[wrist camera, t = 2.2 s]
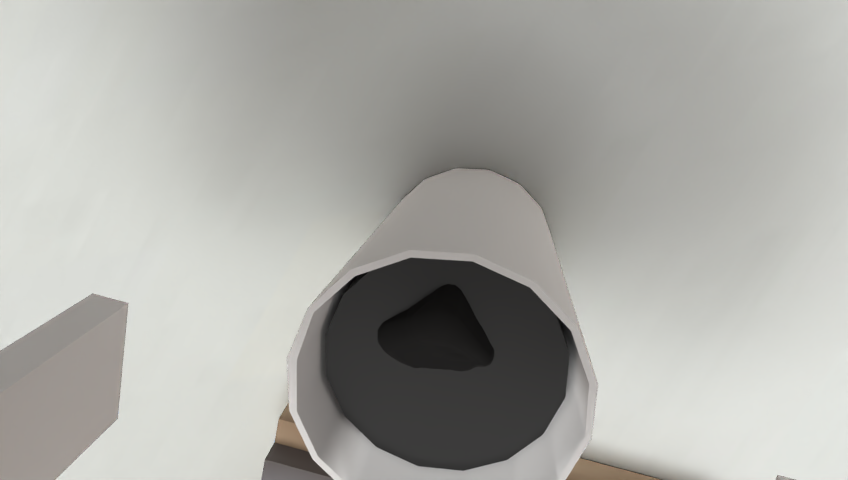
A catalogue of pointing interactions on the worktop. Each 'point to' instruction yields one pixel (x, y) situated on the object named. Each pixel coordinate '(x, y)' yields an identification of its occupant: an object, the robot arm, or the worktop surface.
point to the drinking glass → (447, 345)
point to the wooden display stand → (301, 476)
